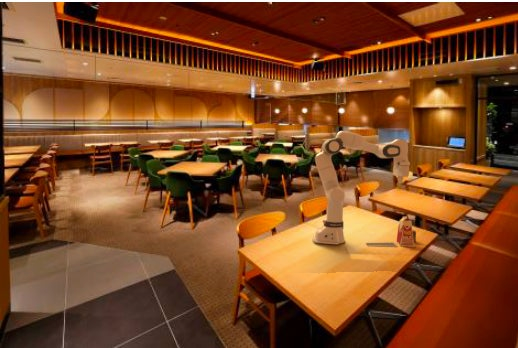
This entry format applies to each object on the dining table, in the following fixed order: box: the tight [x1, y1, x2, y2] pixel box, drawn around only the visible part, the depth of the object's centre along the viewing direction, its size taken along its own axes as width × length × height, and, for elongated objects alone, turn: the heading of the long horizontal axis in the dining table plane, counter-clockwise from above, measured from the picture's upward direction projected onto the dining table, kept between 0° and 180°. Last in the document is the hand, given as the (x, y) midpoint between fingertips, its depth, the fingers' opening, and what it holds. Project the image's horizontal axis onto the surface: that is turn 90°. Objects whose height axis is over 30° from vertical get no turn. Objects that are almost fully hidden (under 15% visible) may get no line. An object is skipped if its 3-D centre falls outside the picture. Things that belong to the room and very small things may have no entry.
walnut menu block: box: [412, 229, 417, 243], centre depth 199 cm, size 4×4×8 cm
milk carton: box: [396, 215, 415, 248], centre depth 194 cm, size 9×9×20 cm
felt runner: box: [365, 241, 398, 248], centre depth 195 cm, size 19×9×1 cm, turn 82°
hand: (400, 182), depth 197 cm, fingers closed
